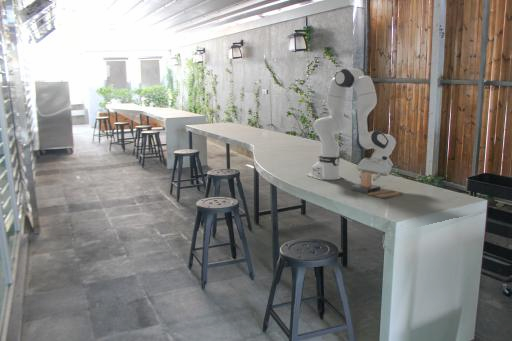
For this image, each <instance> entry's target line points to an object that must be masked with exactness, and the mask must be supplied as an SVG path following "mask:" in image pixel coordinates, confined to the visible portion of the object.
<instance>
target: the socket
mask: <svg viewBox="0 0 512 341" xmlns="http://www.w3.org/2000/svg"><path fill="white" fill-rule="evenodd" d="M379 190H381V186H380V185H378V184H377V185H376V184H373V183H371V187H367V188H366V187H362V186H361V183H358V184H353V185H351V190H350V191H354V192H357V193H363V194H366V195H368V193H371V192H375V191H379Z"/></svg>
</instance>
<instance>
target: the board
mask: <svg viewBox="0 0 512 341" xmlns="http://www.w3.org/2000/svg"><path fill="white" fill-rule="evenodd" d="M401 195H403V192H402V191H398V190H393V189H389V188H383V189H380V190H379V191H375V192H371V193H368V194H367V196H370V197H374V198H379V199H383V200H387V199H391V198H394V197H396V196H401Z"/></svg>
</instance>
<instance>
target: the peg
mask: <svg viewBox="0 0 512 341" xmlns="http://www.w3.org/2000/svg"><path fill="white" fill-rule="evenodd" d="M360 184H361V186H362V187H366V188H367V187H371V184H372V173H368V172H364V173H361V178H360Z"/></svg>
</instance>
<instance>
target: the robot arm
mask: <svg viewBox="0 0 512 341" xmlns="http://www.w3.org/2000/svg"><path fill="white" fill-rule="evenodd" d="M372 79H373V78H372V77H371V76H369V75H368V74H367V72H366V70H365V69H363V68H360V67H359V68H358V67H348V68H340V69H339V70H337V71H336V73H335V74H334V77H333V78H331V81H330V83H329V85H328V86H329V87H328V91H327V94H326V95H327V96H326V101H325V108H326V109H327V110H328V112H329V115H328V116H324V117H320V118H317V119H315V121H314V122H313V131H314V132H315V133H316V135H317V136H318V137H319V139H320V145H321V146H320V147H321V148H320V149H321V154H320V156H317V158H318V159H319V160H318V161H317V162H315V163H314V164H313V165H312V166H311V168H310V172H308V173H307V174H306V176H308V177H311V178H313V179H317V180H329V181H331V180H332V181H333V180H340V179H341V178H342V177H341V171H340V158H341V157H340V143H339V142H338V141H337V140H336V138H335V134H336V135H337V134H341V133H342V132H343V133H344V132H345V131H346V130H347V129H348V127H349V121H348V119H347V118H346V117H345V112H344V110H345V108H344V107H345V103H346V102H345V101H346V96H347V91H348V89H350V88H353V89H354V90H355V95H356V102H357V104H356V109H355V111H356V112H355V119H356V121H355V122H356V134H357V135H356V145H357V147H358V148H359V150H361V151H369V150H371V149H373V150H374V151H373V152H372V154H371V156H370V157H364V158H362V159H361V160H360V162H359V163H358V164H357V165H356V169H357V171H358V172H359V176H358V177H359V178H360V179H361V173H364V172H368V173H372V174H373V175H375V176H373V177H372V180H373V181H374V182H376V181H377V180H378V179H379V178H382V177H381V176H383V177H388V176H389V174H390V172H391V171H392V167H393V166H394V163H393V161H392V160H391V159H390V157H389V156H390V155H392V153H393V151H394V150H395V147H396V143H397V142H396V141H397V140H396V138H395V137H394V136H393V135H391V134H385V133H384V132H382V131H381V130H377V129H376V130H372V131H369V130H368V116H369V115H370V113H371V112H372V111H373V110H374V109H375V107H376V105H377V103H378V97H377V93H376V88H375V84H374V82H373V80H372ZM372 174H371V175H372Z"/></svg>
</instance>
